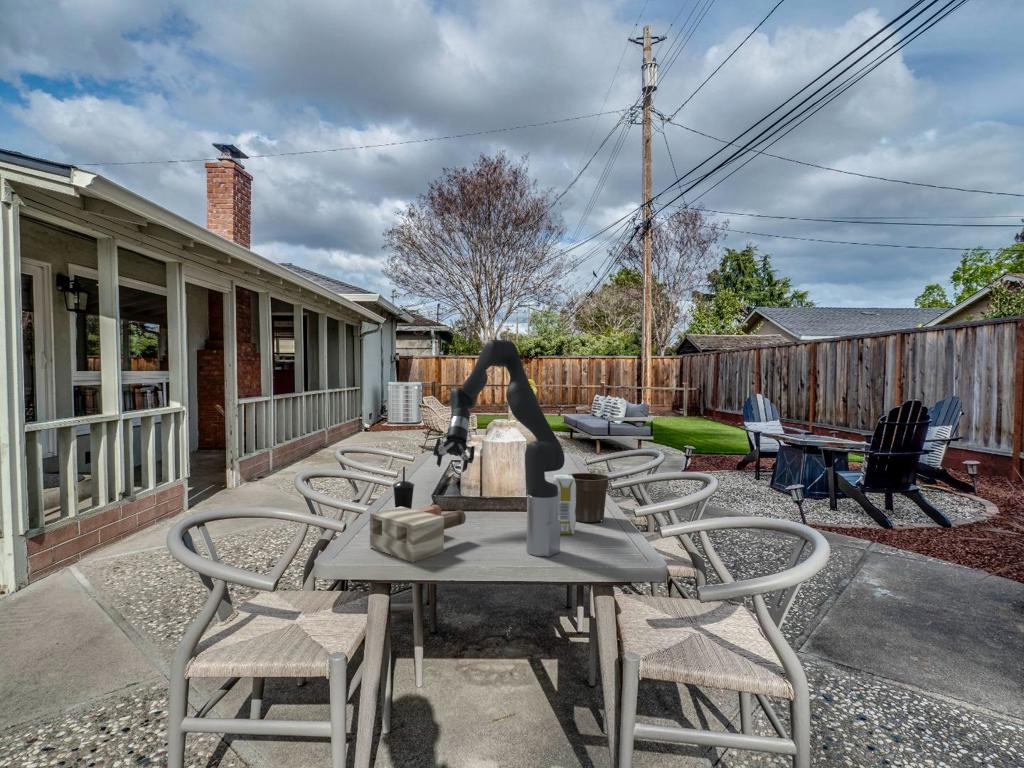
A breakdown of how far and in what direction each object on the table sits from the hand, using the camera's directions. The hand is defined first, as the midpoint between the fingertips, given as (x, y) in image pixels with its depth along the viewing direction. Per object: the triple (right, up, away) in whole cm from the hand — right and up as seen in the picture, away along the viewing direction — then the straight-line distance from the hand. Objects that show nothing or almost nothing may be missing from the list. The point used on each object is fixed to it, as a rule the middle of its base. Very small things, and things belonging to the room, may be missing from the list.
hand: (451, 468), depth 177 cm
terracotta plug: (-10, -16, -11) cm, 22 cm away
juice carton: (+39, -22, -2) cm, 44 cm away
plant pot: (+49, -22, +15) cm, 56 cm away
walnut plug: (-1, -16, -18) cm, 24 cm away
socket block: (-11, -21, -23) cm, 33 cm away
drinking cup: (-18, -21, +7) cm, 28 cm away
